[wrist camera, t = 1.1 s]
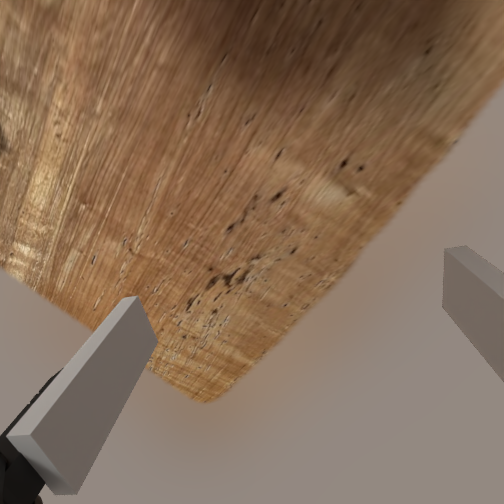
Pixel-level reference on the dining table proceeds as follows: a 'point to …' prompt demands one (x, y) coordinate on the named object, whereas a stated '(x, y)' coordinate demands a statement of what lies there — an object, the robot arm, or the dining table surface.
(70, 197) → the dining table surface
